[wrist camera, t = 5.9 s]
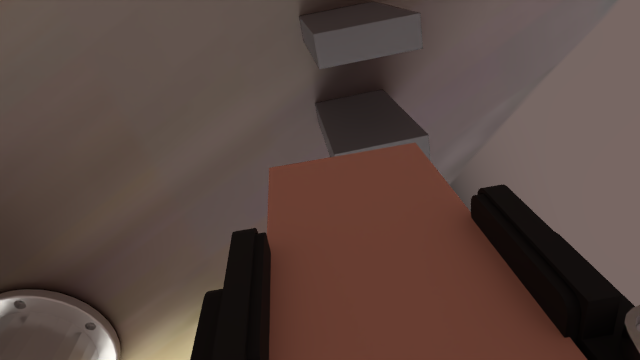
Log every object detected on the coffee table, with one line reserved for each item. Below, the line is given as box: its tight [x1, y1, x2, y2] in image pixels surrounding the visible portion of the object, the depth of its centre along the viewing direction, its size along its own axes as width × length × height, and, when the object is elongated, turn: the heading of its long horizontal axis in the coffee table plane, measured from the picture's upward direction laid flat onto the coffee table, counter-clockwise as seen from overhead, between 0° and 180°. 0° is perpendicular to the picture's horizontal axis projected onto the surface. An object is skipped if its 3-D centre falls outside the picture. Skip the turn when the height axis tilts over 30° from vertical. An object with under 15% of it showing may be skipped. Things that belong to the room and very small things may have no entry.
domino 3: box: [267, 143, 587, 360], centre depth 11 cm, size 2×5×10 cm, turn 99°
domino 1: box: [299, 2, 423, 69], centre depth 25 cm, size 2×5×10 cm, turn 100°
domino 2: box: [315, 90, 431, 162], centre depth 27 cm, size 2×5×10 cm, turn 100°
